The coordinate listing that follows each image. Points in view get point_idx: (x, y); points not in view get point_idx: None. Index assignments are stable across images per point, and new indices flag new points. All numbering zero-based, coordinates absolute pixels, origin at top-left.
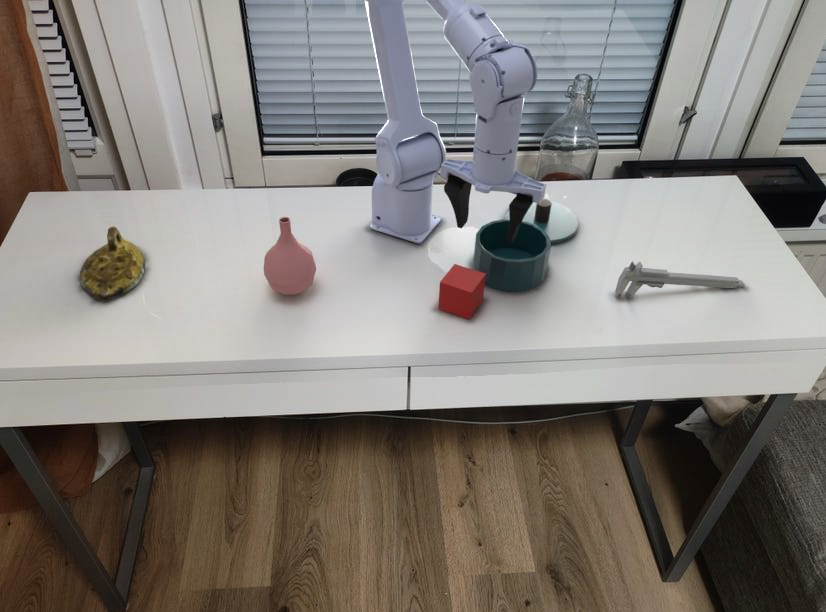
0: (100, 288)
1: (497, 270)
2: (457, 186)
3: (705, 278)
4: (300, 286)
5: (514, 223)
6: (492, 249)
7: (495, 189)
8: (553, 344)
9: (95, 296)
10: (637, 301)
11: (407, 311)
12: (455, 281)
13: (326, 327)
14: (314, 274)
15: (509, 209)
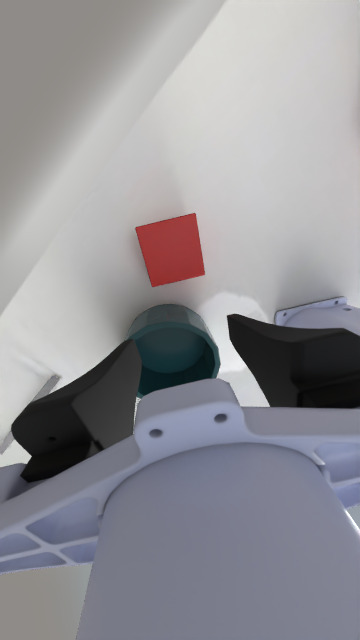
0: None
1: (157, 315)
2: (314, 372)
3: (4, 440)
4: None
5: (99, 367)
6: (201, 354)
7: (129, 445)
8: (35, 266)
9: None
10: (40, 383)
11: (219, 183)
12: (175, 235)
13: (311, 24)
14: None
15: (85, 389)
